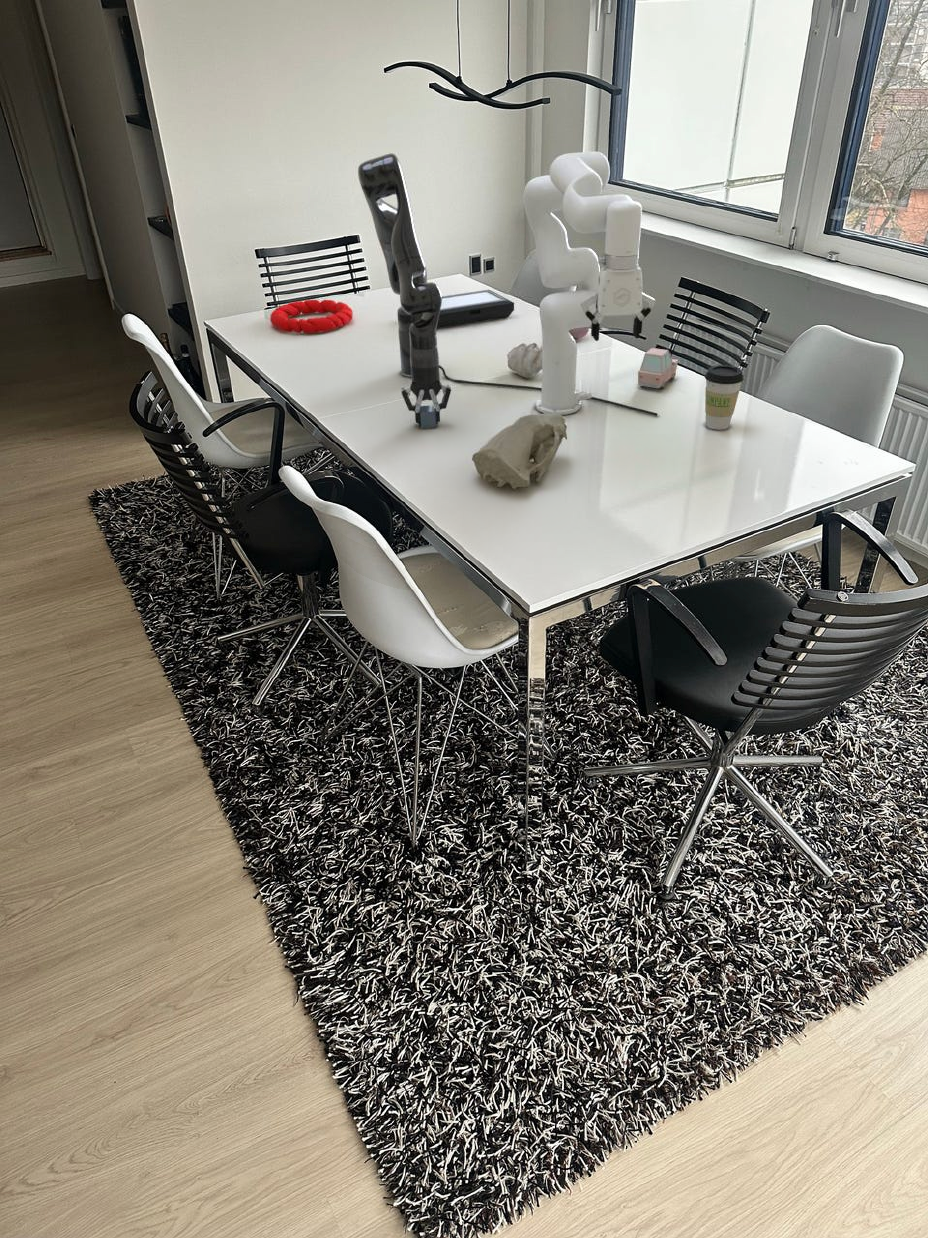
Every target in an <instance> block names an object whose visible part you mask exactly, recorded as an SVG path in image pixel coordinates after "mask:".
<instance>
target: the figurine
mask: <svg viewBox="0 0 928 1238" xmlns="http://www.w3.org/2000/svg"><path fill="white" fill-rule="evenodd" d="M589 330H590V327H582V328H575V329H570V330H569V333H570V335H571V336H572V337H573V338H574V340H577V339H582V338H584V337H585V336H586V335H587V334H588V333H589Z"/></svg>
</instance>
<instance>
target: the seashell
mask: <svg viewBox="0 0 928 1238" xmlns="http://www.w3.org/2000/svg"><path fill="white" fill-rule="evenodd" d="M506 356H507V367H508V369H510V370H511V371H513V372H515V373H517V374H518V375H519V376H521V377H522V378H526V379H531V378H534V376H536V375H537V374H538V373H539V372H540V371H542V347H540V346H539V345H538V344H537V343H536V342H533V343H530V344H526V343H521V344H519V345H518V346H515V347H513V348H511V350H510V351H508V353H507V355H506Z"/></svg>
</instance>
